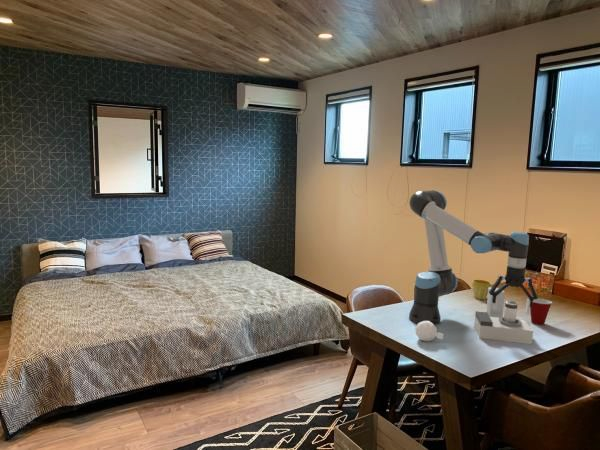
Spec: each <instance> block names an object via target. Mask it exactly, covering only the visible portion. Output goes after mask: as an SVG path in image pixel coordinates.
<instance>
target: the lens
mask: <svg viewBox="0 0 600 450" xmlns="http://www.w3.org/2000/svg"><path fill="white" fill-rule="evenodd" d="M518 303H519V302H517V301H514V300H505V301H504V310H503V317H504V321H505V322H508V323H515V322H516V319H517V312H518Z"/></svg>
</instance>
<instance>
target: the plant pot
mask: <svg viewBox="0 0 600 450" xmlns="http://www.w3.org/2000/svg"><path fill="white" fill-rule="evenodd" d="M471 282H472V283H471V287H472V288H473V289H472V291H473V297H474V298H476V299H478V300H486V299H487V298H488V288H492V282H490V281H488V280H485V279H473V280H472V281H471Z"/></svg>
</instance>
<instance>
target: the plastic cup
mask: <svg viewBox="0 0 600 450" xmlns="http://www.w3.org/2000/svg"><path fill="white" fill-rule="evenodd" d="M552 304H553V301H551V300H547V299H543V298H538V299H534V300H533V302H532V307H529V314H530V321H531V323H532V324H534V325H539V326H542V325H545V323H546V319H547V317H548V314H549V311H550V308H551V306H552Z"/></svg>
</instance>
